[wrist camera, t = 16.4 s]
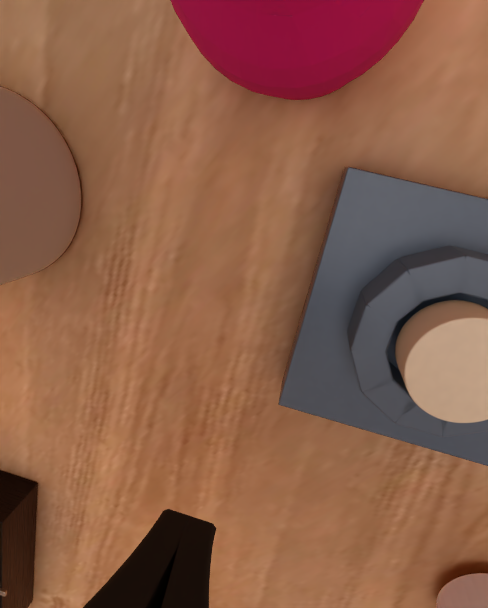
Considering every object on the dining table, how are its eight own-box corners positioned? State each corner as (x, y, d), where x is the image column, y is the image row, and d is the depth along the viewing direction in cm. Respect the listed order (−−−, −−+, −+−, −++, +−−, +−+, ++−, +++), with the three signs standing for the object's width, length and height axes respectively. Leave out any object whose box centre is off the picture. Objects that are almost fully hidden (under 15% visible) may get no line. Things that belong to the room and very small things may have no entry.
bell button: (480, 407, 14) (501, 437, 13) (380, 379, 15) (387, 405, 13) (527, 315, 13) (556, 336, 12) (416, 287, 14) (429, 304, 12)
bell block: (493, 440, 19) (536, 508, 15) (282, 380, 20) (273, 430, 16) (607, 227, 15) (702, 247, 11) (344, 166, 16) (351, 166, 12)
